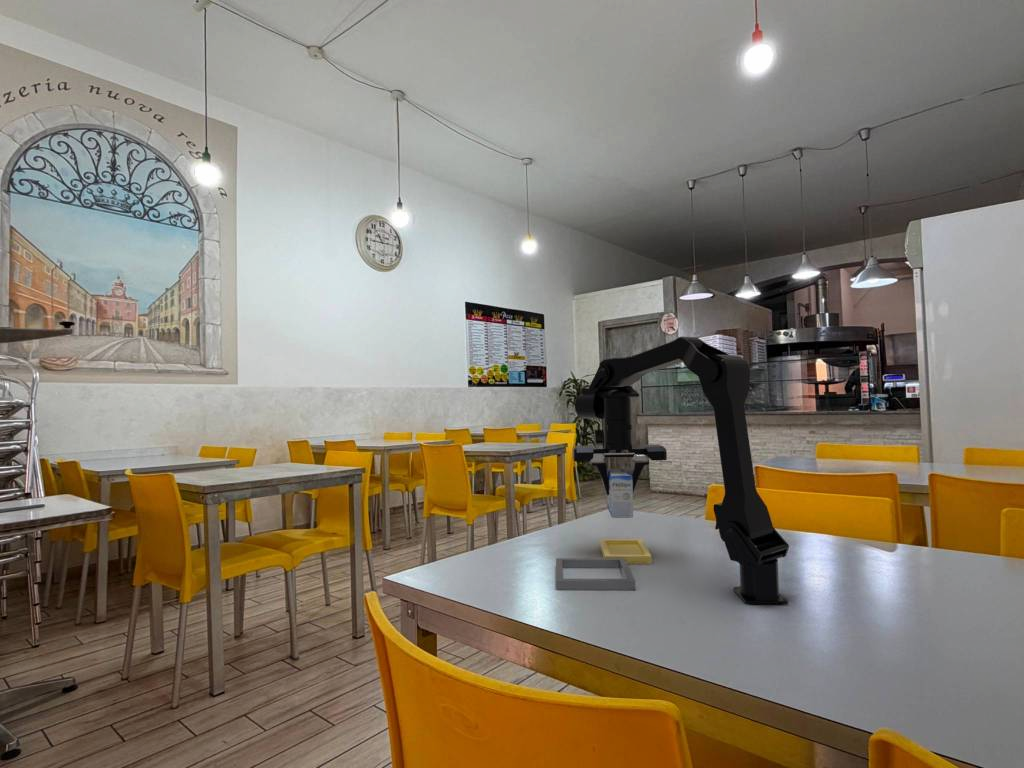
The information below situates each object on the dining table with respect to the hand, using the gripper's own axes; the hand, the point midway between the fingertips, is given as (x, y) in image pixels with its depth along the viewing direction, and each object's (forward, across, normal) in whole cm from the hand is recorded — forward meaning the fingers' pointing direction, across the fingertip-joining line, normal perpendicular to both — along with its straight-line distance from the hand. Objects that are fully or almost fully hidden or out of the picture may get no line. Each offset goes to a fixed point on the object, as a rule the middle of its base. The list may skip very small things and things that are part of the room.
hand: (619, 494), depth 113 cm
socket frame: (+13, +7, +14) cm, 20 cm away
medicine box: (+4, 0, 0) cm, 4 cm away
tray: (+13, -1, -1) cm, 13 cm away
